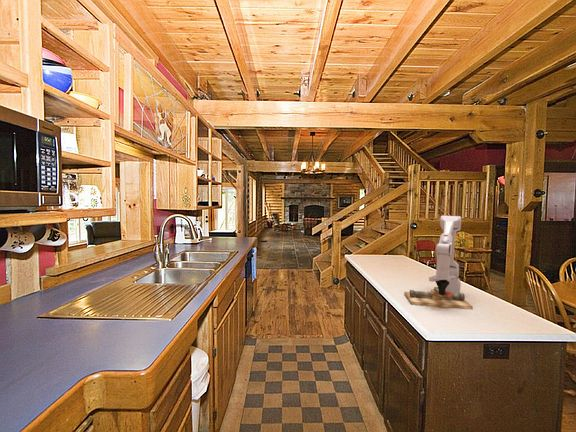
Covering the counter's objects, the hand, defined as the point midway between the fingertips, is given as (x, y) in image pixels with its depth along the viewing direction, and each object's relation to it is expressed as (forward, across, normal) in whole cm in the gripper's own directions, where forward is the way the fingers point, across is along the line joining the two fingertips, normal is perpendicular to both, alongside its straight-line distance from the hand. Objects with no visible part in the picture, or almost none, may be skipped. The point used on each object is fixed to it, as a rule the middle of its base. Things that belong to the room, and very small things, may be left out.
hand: (441, 294), depth 147 cm
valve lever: (-1, +2, +1) cm, 3 cm away
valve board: (+5, +3, +6) cm, 8 cm away
